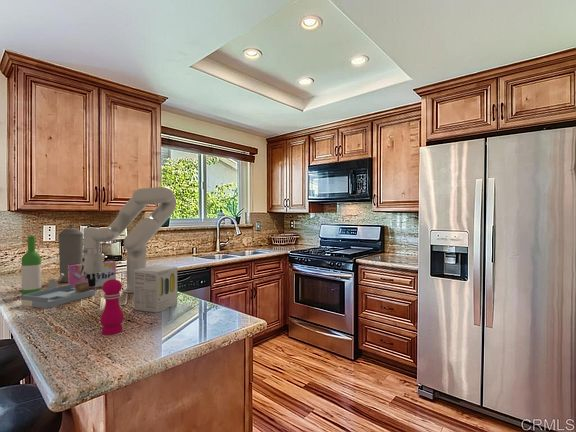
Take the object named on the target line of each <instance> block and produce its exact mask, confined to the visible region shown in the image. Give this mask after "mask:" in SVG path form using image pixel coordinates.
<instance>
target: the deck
mask: <svg viewBox="0 0 576 432" xmlns="http://www.w3.org/2000/svg"><path fill="white" fill-rule="evenodd" d="M93 296H96V290H95V289H89V291H85V292H82V293H81V292H75V288H73V284H69V285H68V284H66V285H61V286H58V287H56V288H51V289H48V288H47V289H43V290H42V289H41V291H38V292H33V293H29V294H24V295H22V294H21V296H20V298H21V299H20V300H21V301H20V302H21V303H20V305H21V306H25V307H26V306H27V307H34V308H42V309H49V308H53V307H56V306H61V305H65V304H67V303H71V302H75V301H79V300H81V299H86V298H91V297H93Z"/></svg>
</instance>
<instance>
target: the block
mask: <svg viewBox="0 0 576 432" xmlns="http://www.w3.org/2000/svg"><path fill="white" fill-rule="evenodd" d="M89 290H90V288H89V283H85V282H82V283H77V284H75V292H81V293H82V292H85V291H89Z"/></svg>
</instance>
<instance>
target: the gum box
mask: <svg viewBox="0 0 576 432" xmlns="http://www.w3.org/2000/svg"><path fill="white" fill-rule="evenodd" d="M103 264H104V270H103V271H102V273H101V274H98V276H97V278H96V281H95V286H94V287H89V289H92V288H98V287H99V288H100V287H103V284H104V283H105V282H106V281H108V280H110V279H109V277H110V276H111V275H114V276H115V280H117V279H116V278H117V277H116V275H117V261H115V260H103ZM81 275H82V273H81V263H76V264H68V282H67V285H69V284H73V288H75V284H77V283H82V282H85V283H88V279H87V278H86V277H82V276H81Z"/></svg>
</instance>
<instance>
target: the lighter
mask: <svg viewBox="0 0 576 432" xmlns="http://www.w3.org/2000/svg"><path fill="white" fill-rule="evenodd" d="M63 276H64V274H61V275H60V274H59V277H58V279H56V278H52V279H51V278H50V279H49V280H48V281H47V282H48V283H47V286H48V287H47V289H51V288H56V287H59V286H58V284H59V283H58V282H61V279H62V277H63Z"/></svg>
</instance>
